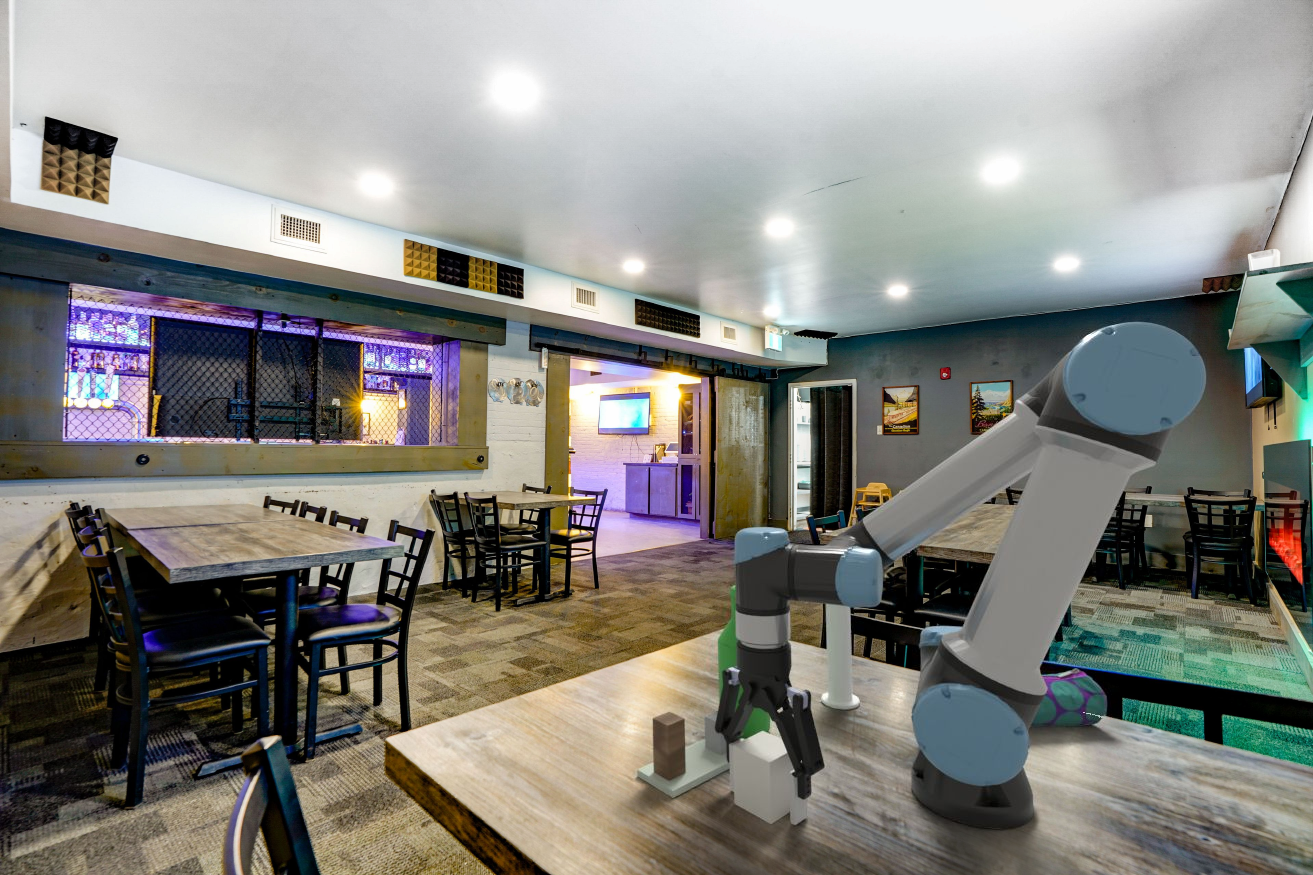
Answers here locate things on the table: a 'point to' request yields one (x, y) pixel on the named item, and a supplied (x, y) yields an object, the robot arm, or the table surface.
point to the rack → (693, 763)
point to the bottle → (729, 659)
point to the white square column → (762, 776)
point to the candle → (839, 659)
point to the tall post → (669, 745)
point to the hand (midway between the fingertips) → (767, 802)
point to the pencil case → (1070, 700)
